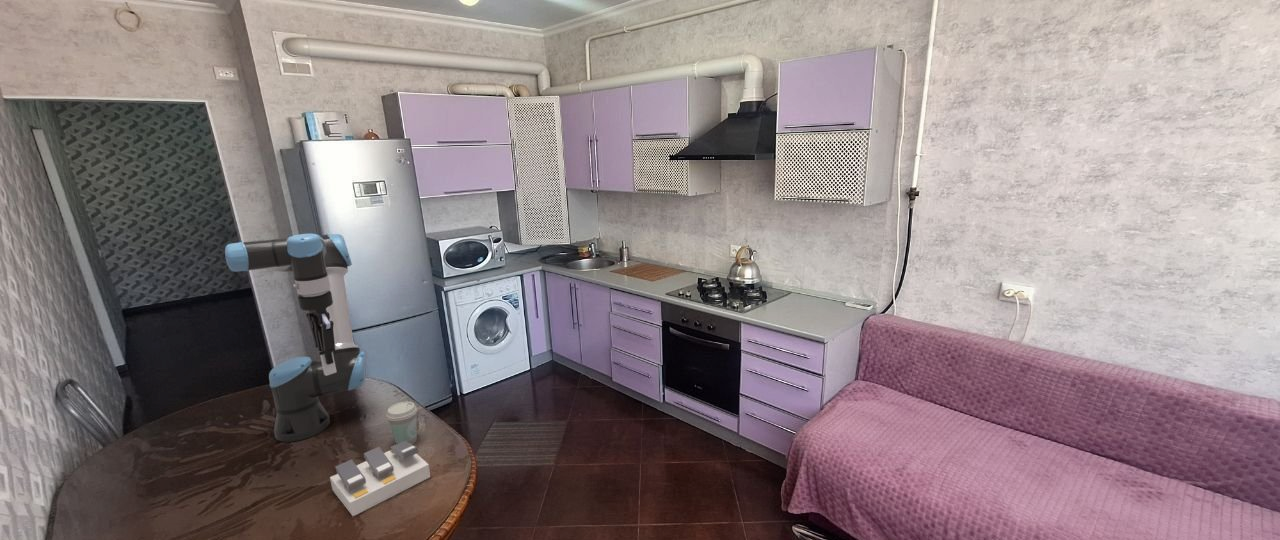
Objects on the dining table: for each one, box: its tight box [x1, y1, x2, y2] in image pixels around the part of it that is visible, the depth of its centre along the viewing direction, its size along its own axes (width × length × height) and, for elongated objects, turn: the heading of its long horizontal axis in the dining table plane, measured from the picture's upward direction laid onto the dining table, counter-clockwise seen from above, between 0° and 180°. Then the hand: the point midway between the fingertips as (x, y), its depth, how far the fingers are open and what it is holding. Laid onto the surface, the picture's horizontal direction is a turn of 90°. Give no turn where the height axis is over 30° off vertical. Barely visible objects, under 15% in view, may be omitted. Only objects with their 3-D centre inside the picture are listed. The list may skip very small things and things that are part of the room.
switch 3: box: [389, 441, 420, 459], centre depth 142 cm, size 9×4×2 cm, turn 47°
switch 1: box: [335, 459, 366, 491], centre depth 132 cm, size 9×4×2 cm, turn 48°
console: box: [329, 449, 431, 517], centre depth 138 cm, size 15×20×6 cm
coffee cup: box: [386, 401, 418, 445], centre depth 156 cm, size 8×8×12 cm
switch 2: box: [363, 446, 394, 478], centre depth 136 cm, size 9×4×2 cm, turn 48°
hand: (330, 373), depth 141 cm, fingers closed
